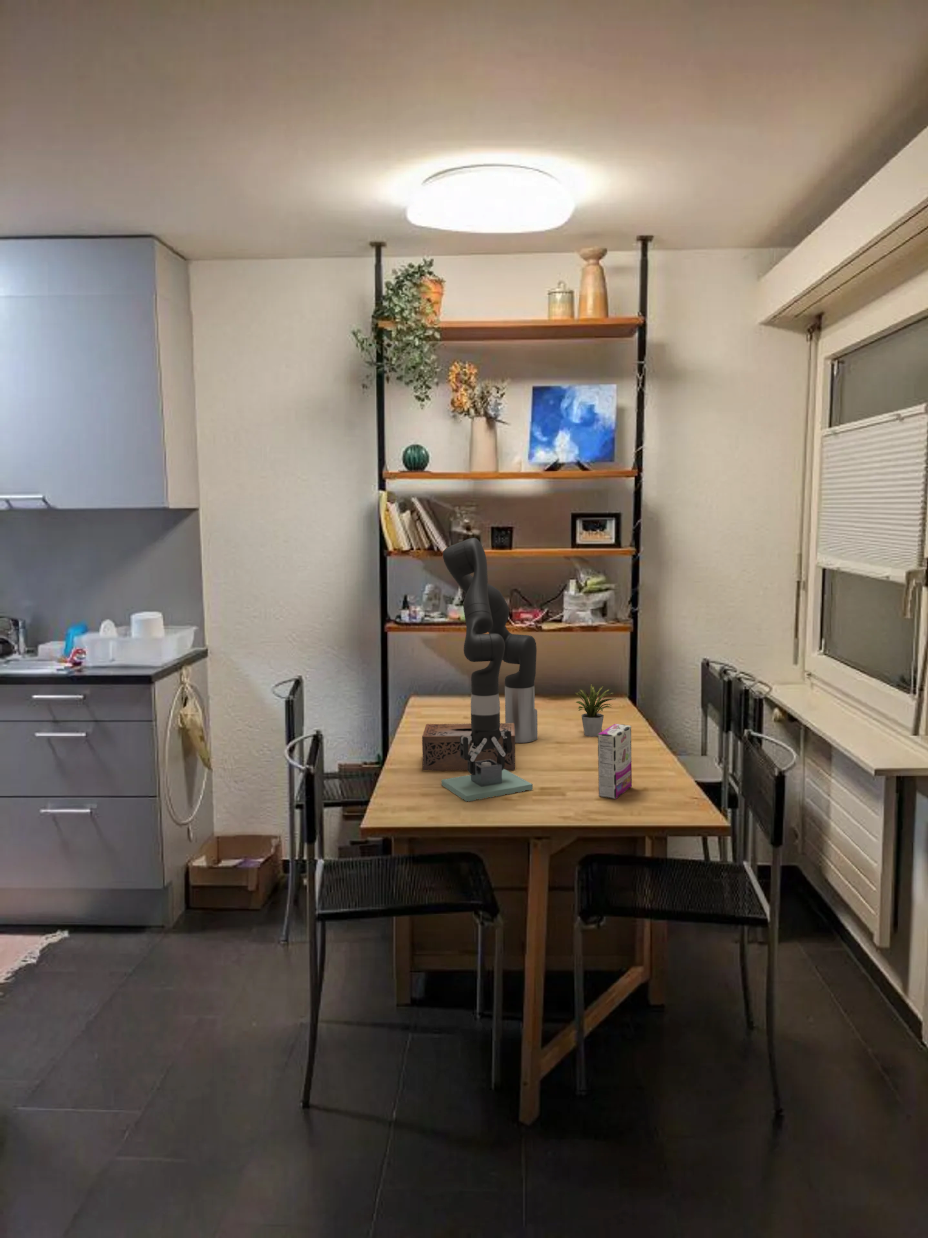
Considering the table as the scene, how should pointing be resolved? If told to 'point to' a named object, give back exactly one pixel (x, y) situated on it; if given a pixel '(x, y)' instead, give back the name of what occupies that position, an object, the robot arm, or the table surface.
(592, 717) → the house plant
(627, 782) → the candy bar box
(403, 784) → the table surface
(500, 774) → the open box
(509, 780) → the post board
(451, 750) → the tissue box cover
